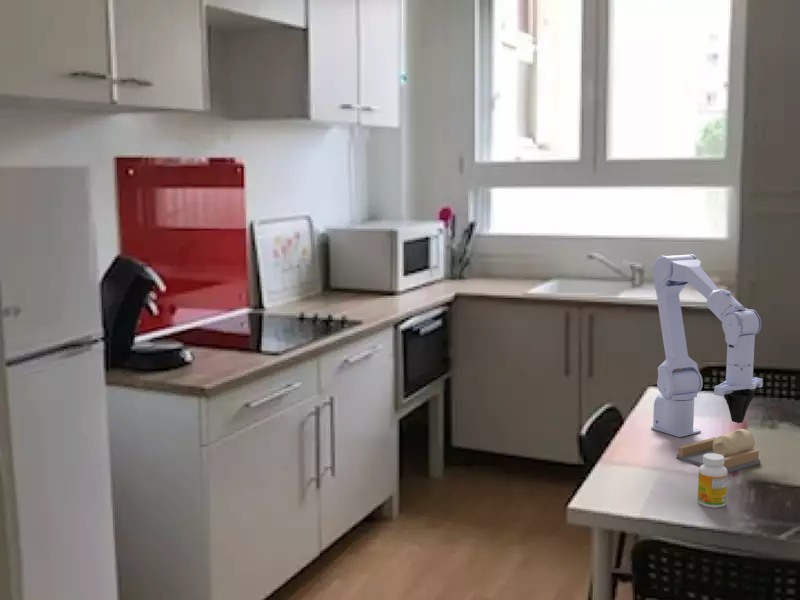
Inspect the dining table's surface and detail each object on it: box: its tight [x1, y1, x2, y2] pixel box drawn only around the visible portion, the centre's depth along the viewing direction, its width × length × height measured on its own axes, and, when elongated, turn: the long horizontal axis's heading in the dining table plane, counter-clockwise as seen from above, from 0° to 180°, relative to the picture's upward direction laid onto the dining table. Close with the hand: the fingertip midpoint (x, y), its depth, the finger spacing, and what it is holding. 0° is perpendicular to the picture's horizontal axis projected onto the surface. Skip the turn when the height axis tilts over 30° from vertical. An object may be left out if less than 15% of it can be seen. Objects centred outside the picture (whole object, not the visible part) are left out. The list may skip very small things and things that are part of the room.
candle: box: [713, 428, 756, 458], centre depth 208 cm, size 6×6×10 cm
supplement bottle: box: [697, 453, 728, 509], centre depth 183 cm, size 5×5×10 cm
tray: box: [676, 437, 761, 474], centre depth 208 cm, size 13×12×3 cm
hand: (737, 421), depth 211 cm, fingers closed
